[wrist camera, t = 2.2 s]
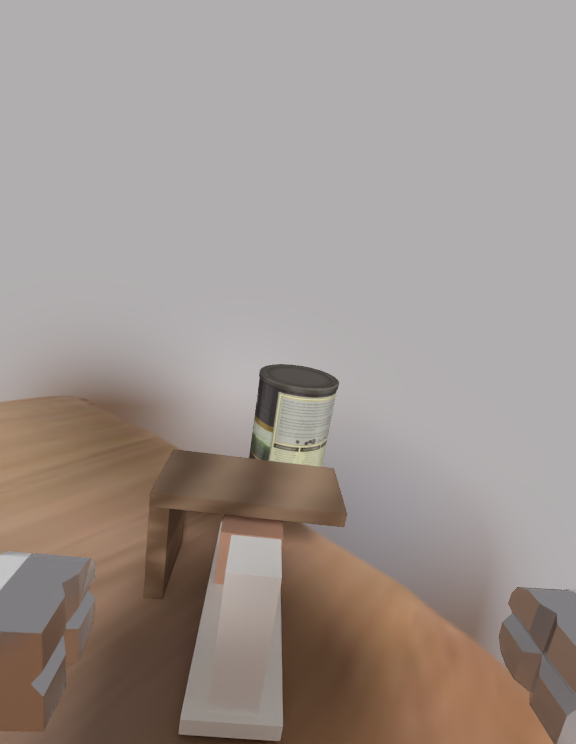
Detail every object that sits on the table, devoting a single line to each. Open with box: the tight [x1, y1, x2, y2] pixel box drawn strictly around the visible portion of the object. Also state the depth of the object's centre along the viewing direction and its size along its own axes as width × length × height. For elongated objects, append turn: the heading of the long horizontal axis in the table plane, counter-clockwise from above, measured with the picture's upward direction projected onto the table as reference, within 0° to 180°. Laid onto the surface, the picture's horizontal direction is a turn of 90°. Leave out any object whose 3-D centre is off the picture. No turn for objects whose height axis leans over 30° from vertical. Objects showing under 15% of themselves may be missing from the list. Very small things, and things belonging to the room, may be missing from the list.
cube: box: [214, 514, 283, 585], centre depth 34 cm, size 5×5×5 cm
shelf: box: [144, 450, 347, 599], centre depth 34 cm, size 15×7×10 cm, turn 92°
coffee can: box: [249, 364, 339, 467], centre depth 52 cm, size 10×10×14 cm
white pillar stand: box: [178, 521, 283, 741], centre depth 30 cm, size 6×18×11 cm, turn 2°
